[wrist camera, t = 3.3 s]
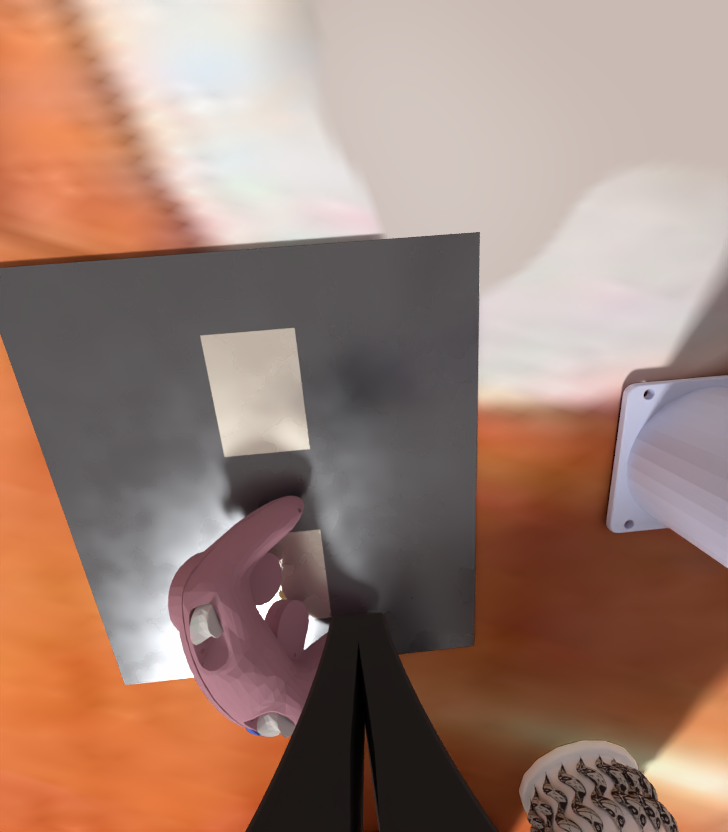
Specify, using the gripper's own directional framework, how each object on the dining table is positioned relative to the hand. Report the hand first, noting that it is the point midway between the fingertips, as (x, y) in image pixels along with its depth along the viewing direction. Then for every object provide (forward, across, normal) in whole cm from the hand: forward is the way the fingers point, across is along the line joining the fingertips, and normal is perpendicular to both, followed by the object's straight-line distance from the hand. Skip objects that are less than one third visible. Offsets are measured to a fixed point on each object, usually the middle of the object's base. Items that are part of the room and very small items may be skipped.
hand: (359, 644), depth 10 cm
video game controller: (+9, +4, +5) cm, 11 cm away
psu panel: (+9, +4, 0) cm, 10 cm away
